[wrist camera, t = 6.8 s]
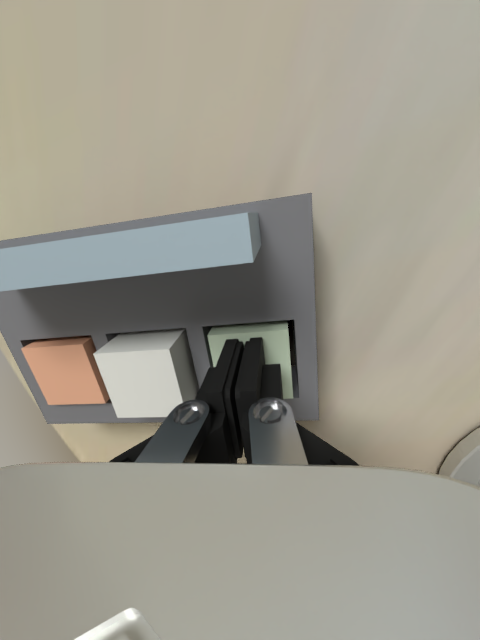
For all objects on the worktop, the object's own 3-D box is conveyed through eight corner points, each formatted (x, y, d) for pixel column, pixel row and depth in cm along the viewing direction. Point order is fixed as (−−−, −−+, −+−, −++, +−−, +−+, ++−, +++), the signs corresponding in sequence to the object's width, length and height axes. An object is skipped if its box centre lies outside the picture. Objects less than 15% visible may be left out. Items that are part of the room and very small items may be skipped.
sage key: (285, 306, 14) (288, 330, 11) (290, 364, 15) (293, 398, 13) (220, 312, 15) (207, 335, 12) (229, 367, 16) (220, 400, 13)
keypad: (303, 197, 12) (334, 180, 6) (311, 384, 16) (335, 499, 10) (16, 240, 15) (-180, 262, 9) (81, 392, 19) (-21, 486, 12)
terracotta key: (116, 321, 16) (82, 344, 13) (133, 372, 17) (105, 403, 14) (64, 325, 16) (20, 348, 14) (84, 374, 18) (48, 404, 15)
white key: (190, 321, 14) (169, 348, 11) (202, 379, 15) (186, 416, 12) (128, 326, 14) (93, 353, 12) (145, 381, 16) (117, 417, 13)
